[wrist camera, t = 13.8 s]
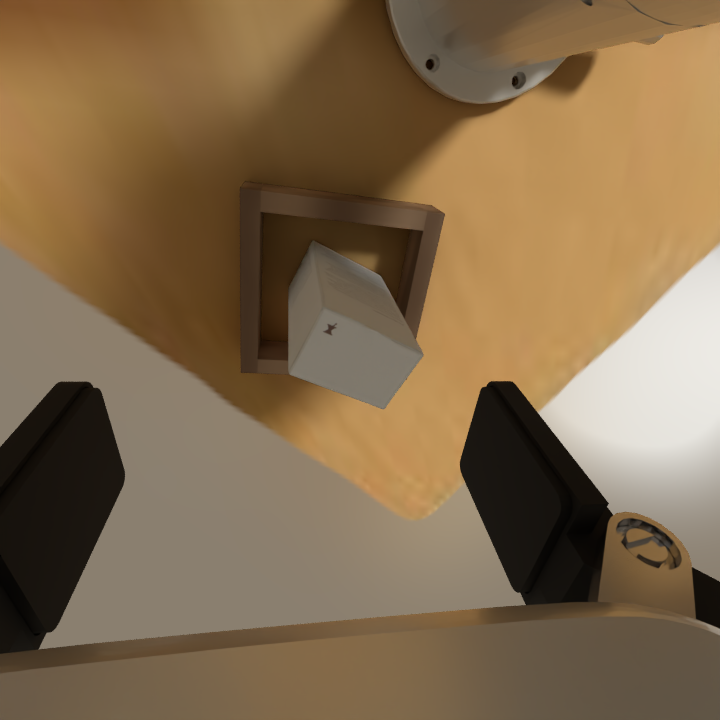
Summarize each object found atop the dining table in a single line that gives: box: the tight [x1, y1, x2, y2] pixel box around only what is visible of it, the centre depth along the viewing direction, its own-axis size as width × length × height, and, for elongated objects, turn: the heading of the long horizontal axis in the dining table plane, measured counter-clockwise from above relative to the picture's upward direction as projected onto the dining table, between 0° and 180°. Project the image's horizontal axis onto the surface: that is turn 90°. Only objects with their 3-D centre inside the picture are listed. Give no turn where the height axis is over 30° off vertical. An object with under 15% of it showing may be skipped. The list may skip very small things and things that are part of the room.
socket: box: [240, 181, 445, 380], centre depth 30 cm, size 13×13×3 cm
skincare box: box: [288, 241, 423, 409], centre depth 26 cm, size 6×4×12 cm
